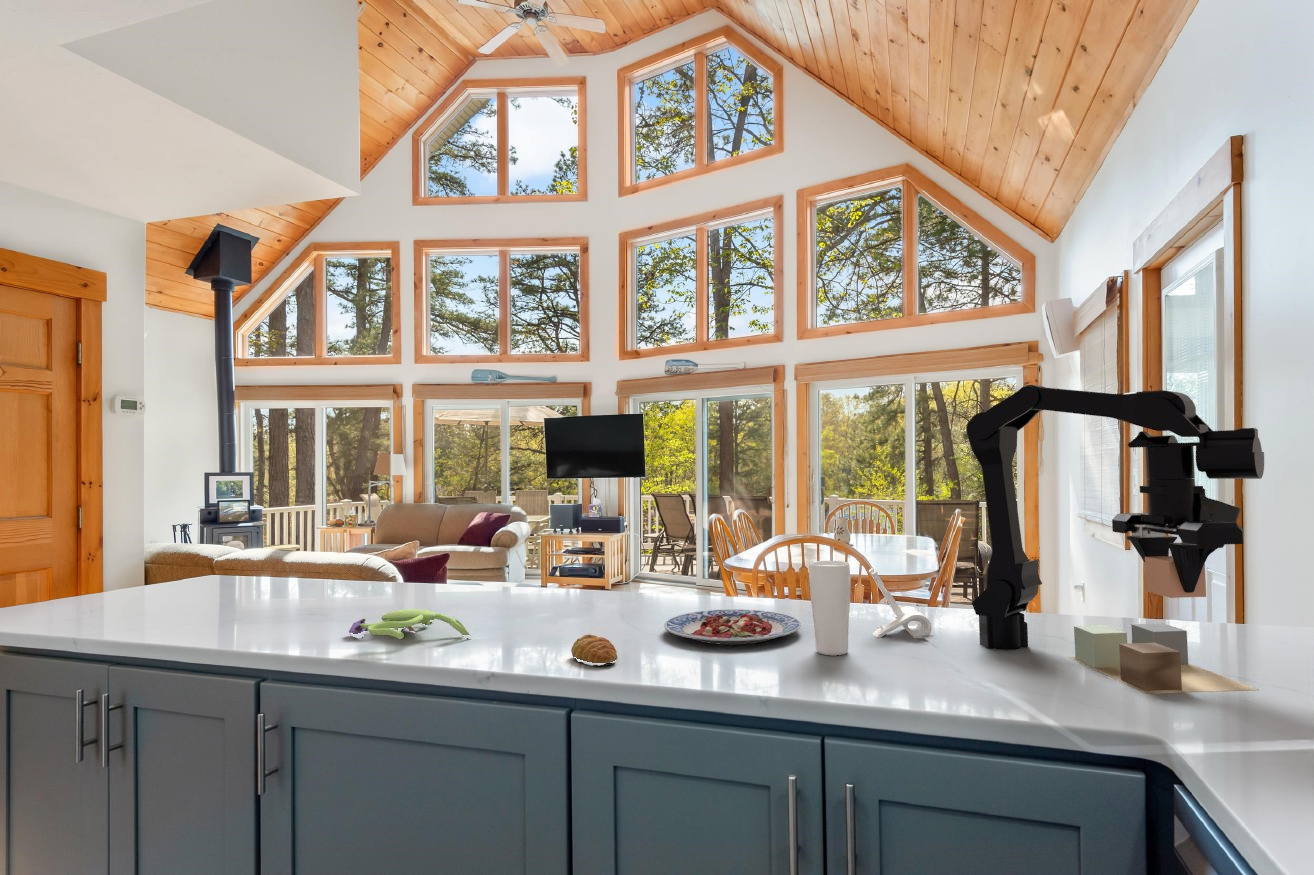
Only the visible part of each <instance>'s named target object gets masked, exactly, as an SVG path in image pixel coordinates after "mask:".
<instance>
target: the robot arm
mask: <svg viewBox="0 0 1314 875" xmlns="http://www.w3.org/2000/svg"><path fill="white" fill-rule="evenodd" d="M1041 411H1050V412H1058V413H1059V412H1060V413H1066V414H1067V413H1068V414H1078V415H1086V416H1095V417H1104V418H1112V419H1114V420H1119V421H1122V422H1125V423H1127V424H1128V423H1129V424H1130V425H1135V426H1137V427H1141V428H1145V429H1149V430H1152V431H1157V432H1171V433H1173V434H1176V435H1177V436H1179V437H1181V438H1198V441H1197V442H1195V441H1194V442H1192V441H1191V442H1179V441H1178V439H1177V438H1176V436H1175V435H1173V434H1170V435H1151V434H1150V433H1148V431H1146V430H1145V431H1144V430H1142V431H1139V432H1138V434H1137V435H1136V436H1135V437H1134V438H1133V439H1132V440H1131V441H1129V442H1128V443H1127V447H1128V448H1131V449H1132V448H1144V456H1145V457H1144V458H1145V477H1146V478H1145V480H1146V481H1145V482H1146V484H1145V485H1139V493H1140V494H1146V497H1147V498H1146V502H1147V503H1146V504H1147V506H1146V507H1147V512H1135V513H1134V512H1132V513H1117V514H1116V515H1115V516H1114V517H1113V518H1112V519H1111V525H1112V532H1113V533H1119V534H1128V533H1129V532H1131V535H1126V540H1128V541H1130V543H1131V544H1132V546H1133V547H1134V548H1135V550H1136V552H1137V553H1138V555H1139V556H1140V557H1141V559H1142V561H1143V562H1144V563H1145V557H1156V556H1170V554H1171V556H1172V557H1173V560H1174V563H1175V567H1176V570H1177V573H1178V576H1179V579H1180V582H1181V585H1182V587H1183V590H1184V592H1186V593H1192V592H1194V590H1195V587H1196V585H1197V582H1198V579H1199V576H1200V574H1201V571H1202V568H1203V566H1204V564H1205V563H1206V561H1207V559H1208V557H1209V556H1210V555H1211V554H1213V553H1214V552H1215V551H1217V549H1223V548H1224V547H1225V546H1226V545H1244V544H1245V537H1244V536H1245V534H1244V528H1242V527H1241V526H1240V524H1239V523H1237V522H1238V519H1239V516H1240V513H1241V508H1240V507H1238V506H1235V505H1231V504H1229V503H1225V502H1223V501H1220V500H1218V499H1213V498H1210V497H1207V496H1206V489H1205V488H1204V485H1196V476H1195V474H1196V473H1195V464H1196V468H1197V470H1198V472H1201V473H1205V475H1206V477H1207V479H1209V480H1211V479H1212V480H1213V479H1214V480H1215V479H1216V480H1218V479H1219V480H1222V479H1224V480H1226V479H1227V480H1228V479H1229V480H1230V479H1231V480H1232V479H1233V480H1238V479H1239V480H1242V479H1243V480H1256V479H1257V480H1261V479H1262V478H1263V475H1264V472H1265V452H1264V451H1263V450H1262V445H1261V441H1260V440H1261V439H1260V438H1259V430H1258V428H1256V427H1246V428H1245V427H1244V428H1239V429H1232V430H1230V429H1229V430H1214V429H1212V428H1211V427H1210V426H1209V424H1207V423H1206V422H1205V421H1204V420H1203V419H1202V418H1201V417H1200V416H1199V415H1198V414H1197V408H1196V404H1195V402H1194V400H1192V399H1191V397H1189V395H1187V394H1185V393H1183V392H1179V391H1178V392H1177V391H1171V390H1162V389H1161V390H1160V389H1159V390H1148V391H1147V390H1146V391H1145V390H1144V391H1143V390H1142V391H1132V392H1124V393H1108V392H1100V391H1099V392H1098V391H1097V392H1096V391H1087V390H1077V389H1076V390H1075V389H1065V388H1064V389H1063V388H1062V389H1061V388H1054V387H1045V386H1043V385H1036V384H1026V385H1024V386H1022V387H1021V388H1020V389H1018V390H1017V391H1016V392H1014V393H1013V394H1012V395H1010V396H1009V397H1007V398H1005V399H1003V400H1001V401H1000V402H998V403H996V404H994V405H993V406H991V407H990V408H989V409H987V410H986V411H981V412H979V413H976V414H974V415H973V416H972V417H970V420H968V422H967V423H966V427H965V429H966V430H965V431H966V436H967V439H968V442H969V446H970V448H971V452H972V453H973V455H974V457H975V458H976V461H977V462H978V464H979V465H980V468H981V474H982V482H983V488H984V491H983V492H984V498H985V505H986V513H987V514H986V515H987V522H988V529H989V538H990V545H991V555H990V557H989V561H988V565H987V569H986V579H985V580H986V582H985V583H986V584H985V589H984V590H983V591H982V592H981V593H980V594H979V595H978V596H976V598H975V599H974V600H973V601H972V602H971V604H972V608H973V610H974V613H975V615H976V616H978V628H979V629H978V630H979V631H978V632H979V633H978V634H979V645H981V646H982V647H984V648H986V649H989V650H998V651H1016V650H1020V649H1026V648H1028V647H1029V634H1028V631H1029V630H1028V622H1026V621H1025V614H1024V613H1022V612H1025V611H1027V609H1028V605H1029V602H1030V601H1033V600H1034V598H1035V597H1036V596H1037V595H1038V594H1039V586H1040V585H1043V582H1042V580H1041V578H1040V574H1039V567H1040V565H1039V560H1038V559H1033V560H1030V559H1029V558H1028V555H1026V553H1025V551H1024V548H1023V541H1022V532H1021V527H1020V525H1021V524H1020V520H1019V519H1020V518H1019V511H1018V504H1017V503H1018V502H1017V496H1016V495H1017V494H1016V488H1015V487H1016V486H1015V479H1014V471H1013V461H1014V457H1015V455H1016V451H1017V448H1018V447H1017V446H1018V432H1019V431H1020V430H1022V429H1023V428H1025V427H1026V426H1027V425H1028V424H1029V423H1030V422H1031V421H1032V420H1033V419H1034V418H1035V417H1036V416H1037V415H1038V414H1039V413H1040V412H1041ZM1194 447H1195V454H1194ZM1178 537H1179V539H1180V540H1181V542H1176V540H1177V539H1178ZM1169 553H1170V554H1169ZM1205 565H1206V564H1205Z"/></svg>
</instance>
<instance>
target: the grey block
mask: <svg viewBox="0 0 1314 875" xmlns="http://www.w3.org/2000/svg"><path fill="white" fill-rule="evenodd" d="M1130 627H1131V643H1157V644H1160V645H1163V646H1165V647H1168V648H1171V649H1174V650H1177V651H1179V652H1180V658H1181V665H1188V663H1189V653H1188V652H1189V650H1188V648H1189V646H1188V630H1186V629H1182V628H1179V627H1176V626H1172V625H1169V624H1166V623H1161V622H1160V623H1159V622H1158V623H1133V624H1131V626H1130Z"/></svg>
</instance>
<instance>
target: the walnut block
mask: <svg viewBox="0 0 1314 875" xmlns="http://www.w3.org/2000/svg"><path fill="white" fill-rule="evenodd" d="M1119 650H1120V672H1121V680H1123V681H1125V682H1127V683H1129V684H1131V685H1133V686H1135V687H1138V688H1140V689H1142V690H1144V691H1155V690H1182V679H1181V658H1180V652H1179V651H1177V650H1174V649H1171V648H1168V647H1165V646H1163V645H1160V644H1157V643H1132V642H1130V643H1129V642H1127V643H1125V644H1119Z"/></svg>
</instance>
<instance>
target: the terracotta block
mask: <svg viewBox="0 0 1314 875" xmlns="http://www.w3.org/2000/svg"><path fill="white" fill-rule="evenodd" d="M1144 569H1145V591H1146V592H1148V593H1151V594H1154V595H1158V596H1162V597H1166V598H1171V599H1175V598H1177V599H1178V598H1183V599H1184V598H1206V597H1207V584H1206V582H1207V581H1206V564H1204V566H1203V568H1202V571H1201V574H1200V576H1199V579H1198V582H1197V585H1196V587H1195V590H1194V592H1192V593H1186V592H1184V590H1183V587H1182V585H1181V582H1180V579H1179V576H1178V573H1177V570H1176V567H1175V563H1174V560H1173V557H1172V555H1169V556H1156V557H1145V562H1144Z"/></svg>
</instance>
